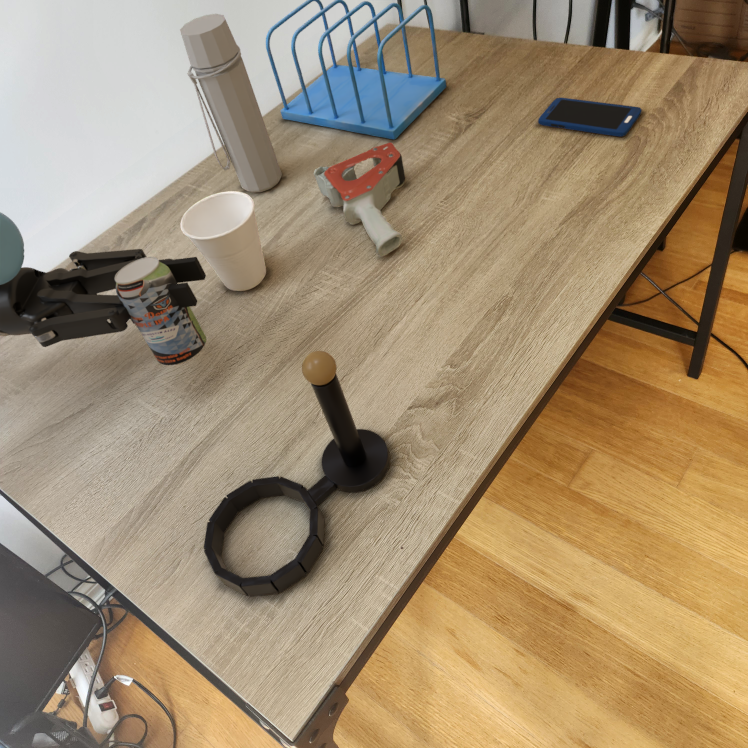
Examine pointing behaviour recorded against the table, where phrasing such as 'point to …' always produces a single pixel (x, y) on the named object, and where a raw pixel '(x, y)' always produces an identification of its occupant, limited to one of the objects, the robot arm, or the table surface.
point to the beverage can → (159, 311)
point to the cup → (227, 238)
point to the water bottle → (230, 102)
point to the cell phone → (590, 116)
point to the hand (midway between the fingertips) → (195, 281)
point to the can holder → (342, 471)
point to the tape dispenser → (366, 192)
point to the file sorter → (360, 82)
